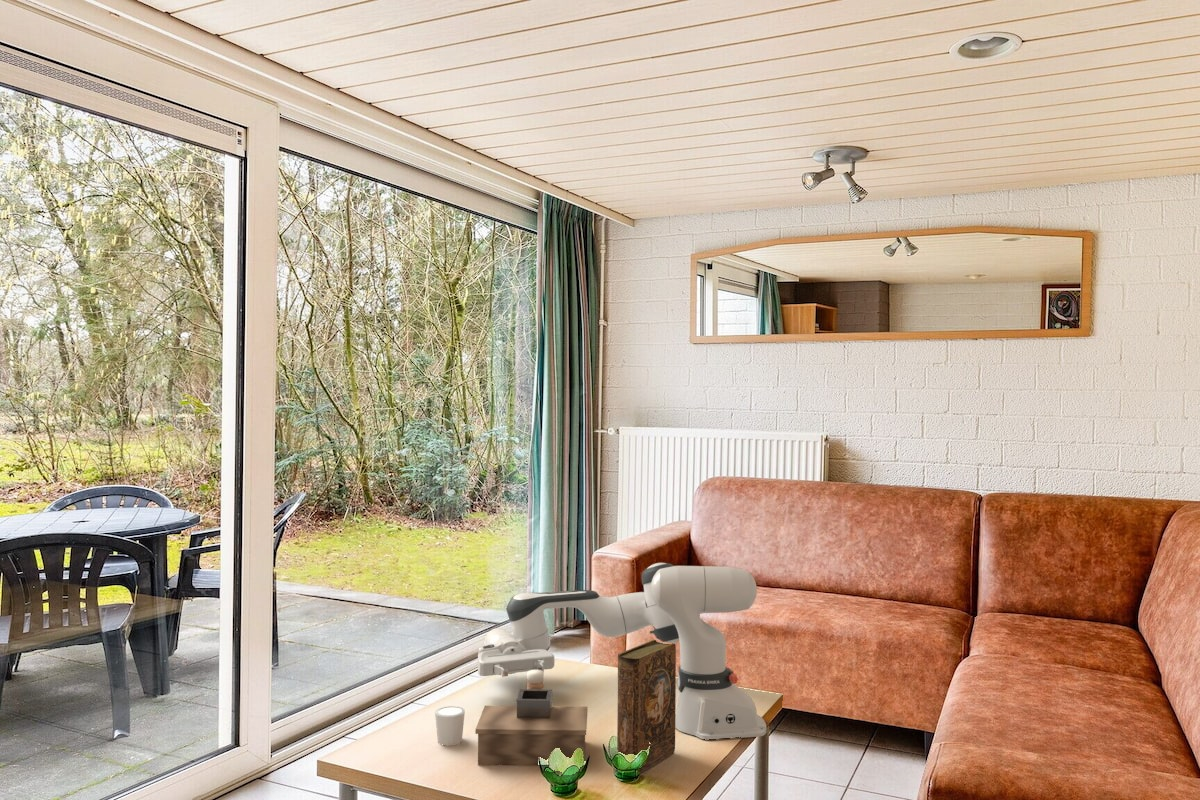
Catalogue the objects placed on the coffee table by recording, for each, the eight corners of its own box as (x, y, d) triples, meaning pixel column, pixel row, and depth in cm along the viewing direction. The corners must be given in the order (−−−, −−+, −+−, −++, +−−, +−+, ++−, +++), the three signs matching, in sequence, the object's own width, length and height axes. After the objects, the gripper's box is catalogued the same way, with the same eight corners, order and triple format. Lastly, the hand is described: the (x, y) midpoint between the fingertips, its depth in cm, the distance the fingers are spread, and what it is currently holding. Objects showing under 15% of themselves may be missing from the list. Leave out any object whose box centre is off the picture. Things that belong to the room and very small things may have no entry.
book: (635, 779, 182) (636, 660, 182) (613, 772, 185) (614, 655, 185) (675, 753, 195) (676, 642, 195) (654, 747, 199) (655, 638, 199)
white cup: (431, 737, 203) (432, 708, 203) (460, 733, 206) (460, 704, 206) (438, 748, 197) (438, 717, 197) (467, 744, 200) (468, 713, 200)
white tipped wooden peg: (543, 722, 213) (544, 669, 213) (542, 728, 209) (543, 674, 209) (527, 722, 213) (527, 669, 213) (526, 728, 209) (526, 674, 209)
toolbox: (587, 740, 202) (587, 689, 202) (585, 767, 188) (586, 711, 188) (484, 739, 202) (484, 688, 202) (475, 766, 188) (475, 710, 188)
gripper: (546, 663, 238) (562, 679, 225) (472, 671, 230) (484, 688, 217) (546, 640, 238) (562, 655, 225) (472, 648, 230) (484, 663, 217)
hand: (523, 671), depth 221 cm, fingers open, 8 cm apart
